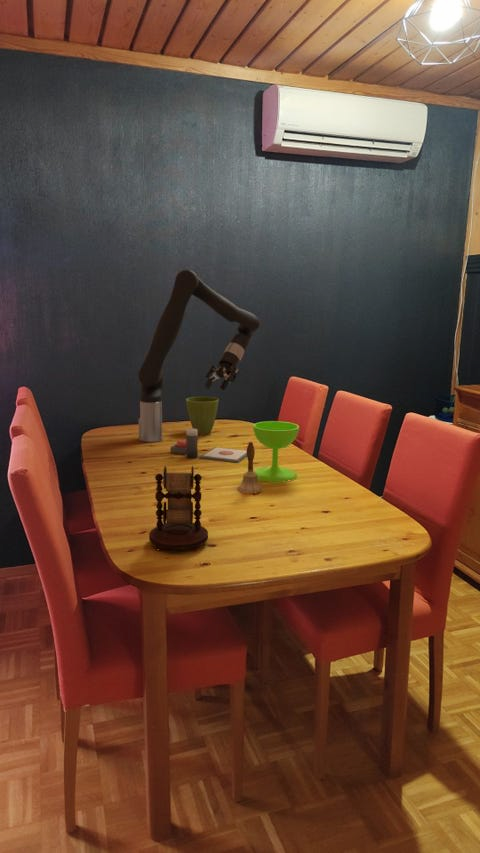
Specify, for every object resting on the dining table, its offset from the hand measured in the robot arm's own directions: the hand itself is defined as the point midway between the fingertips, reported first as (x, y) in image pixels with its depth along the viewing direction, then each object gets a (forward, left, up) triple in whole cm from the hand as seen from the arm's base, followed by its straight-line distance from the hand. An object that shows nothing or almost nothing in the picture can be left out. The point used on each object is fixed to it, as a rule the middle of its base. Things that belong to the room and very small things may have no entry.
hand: (214, 388), depth 232 cm
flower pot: (-17, +27, -26) cm, 41 cm away
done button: (-11, -7, -24) cm, 27 cm away
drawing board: (+8, -6, -26) cm, 27 cm away
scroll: (+27, -89, -26) cm, 97 cm away
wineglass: (+33, -24, -26) cm, 49 cm away
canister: (-4, -13, -26) cm, 29 cm away
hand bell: (+30, -42, -26) cm, 58 cm away
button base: (-11, -7, -26) cm, 29 cm away
